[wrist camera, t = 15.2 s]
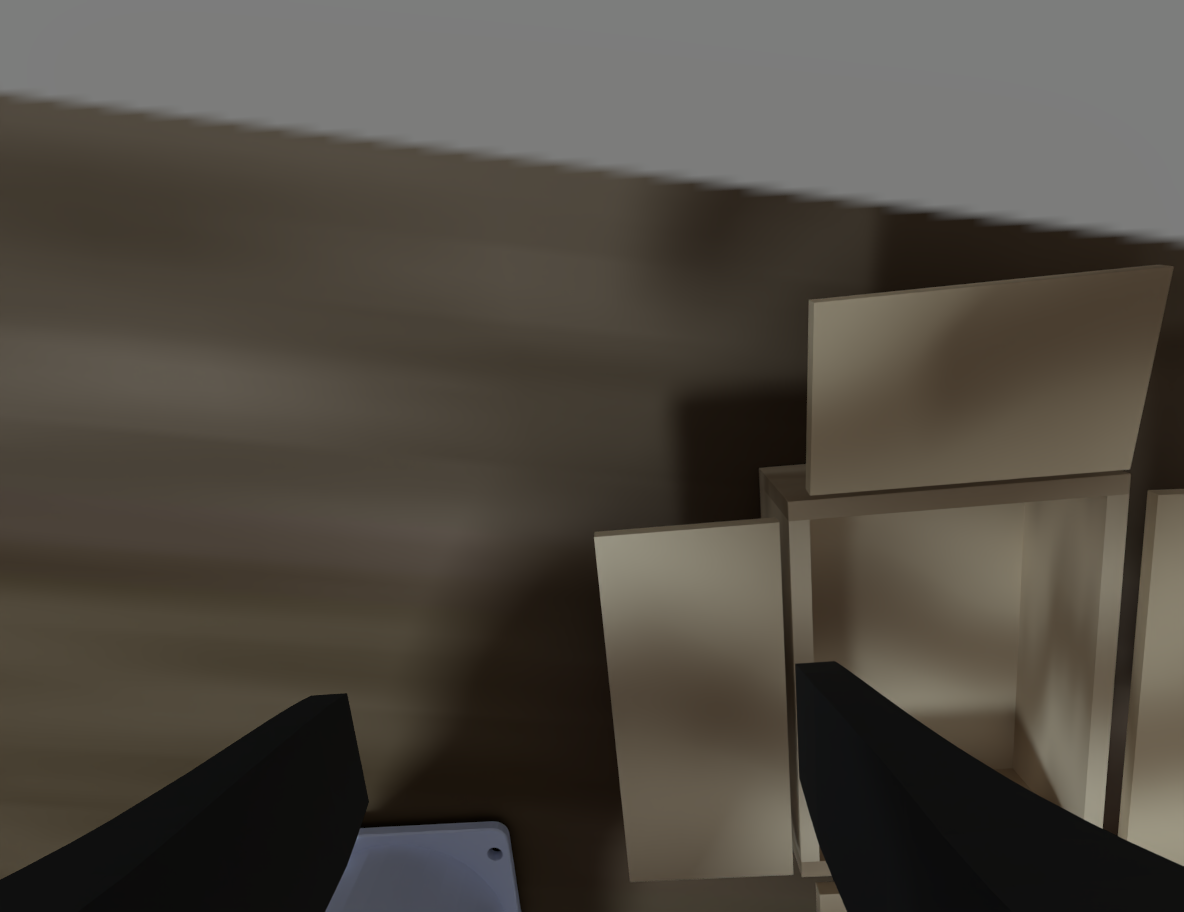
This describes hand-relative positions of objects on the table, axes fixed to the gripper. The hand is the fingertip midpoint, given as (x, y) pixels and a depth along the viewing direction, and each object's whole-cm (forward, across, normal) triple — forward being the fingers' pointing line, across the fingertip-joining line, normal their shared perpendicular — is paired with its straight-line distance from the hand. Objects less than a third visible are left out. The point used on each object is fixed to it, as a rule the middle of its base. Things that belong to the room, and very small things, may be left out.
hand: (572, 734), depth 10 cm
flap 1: (+6, -9, -4) cm, 11 cm away
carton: (+10, -7, +6) cm, 14 cm away
